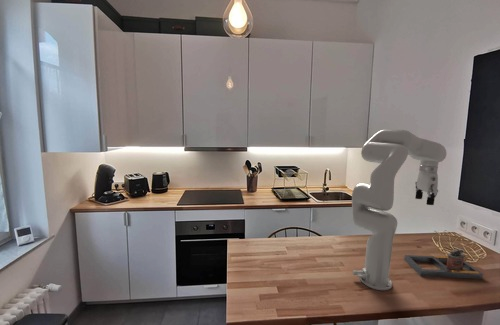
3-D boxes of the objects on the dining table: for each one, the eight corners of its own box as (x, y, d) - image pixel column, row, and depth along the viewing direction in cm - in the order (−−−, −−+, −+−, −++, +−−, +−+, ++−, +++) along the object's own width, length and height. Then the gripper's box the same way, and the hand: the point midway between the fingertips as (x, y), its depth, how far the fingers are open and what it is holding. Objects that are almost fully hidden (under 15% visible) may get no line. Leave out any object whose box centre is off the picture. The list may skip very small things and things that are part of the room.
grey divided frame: (420, 276, 116) (421, 270, 116) (404, 259, 130) (404, 254, 129) (482, 279, 114) (483, 273, 114) (459, 262, 128) (459, 257, 128)
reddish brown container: (450, 272, 119) (453, 252, 118) (443, 268, 123) (446, 248, 121) (464, 270, 121) (467, 250, 119) (457, 266, 124) (460, 247, 122)
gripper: (447, 172, 121) (443, 207, 123) (425, 166, 138) (421, 197, 141) (431, 172, 121) (426, 207, 124) (411, 165, 138) (407, 196, 141)
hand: (424, 201), depth 132 cm, fingers open, 9 cm apart
